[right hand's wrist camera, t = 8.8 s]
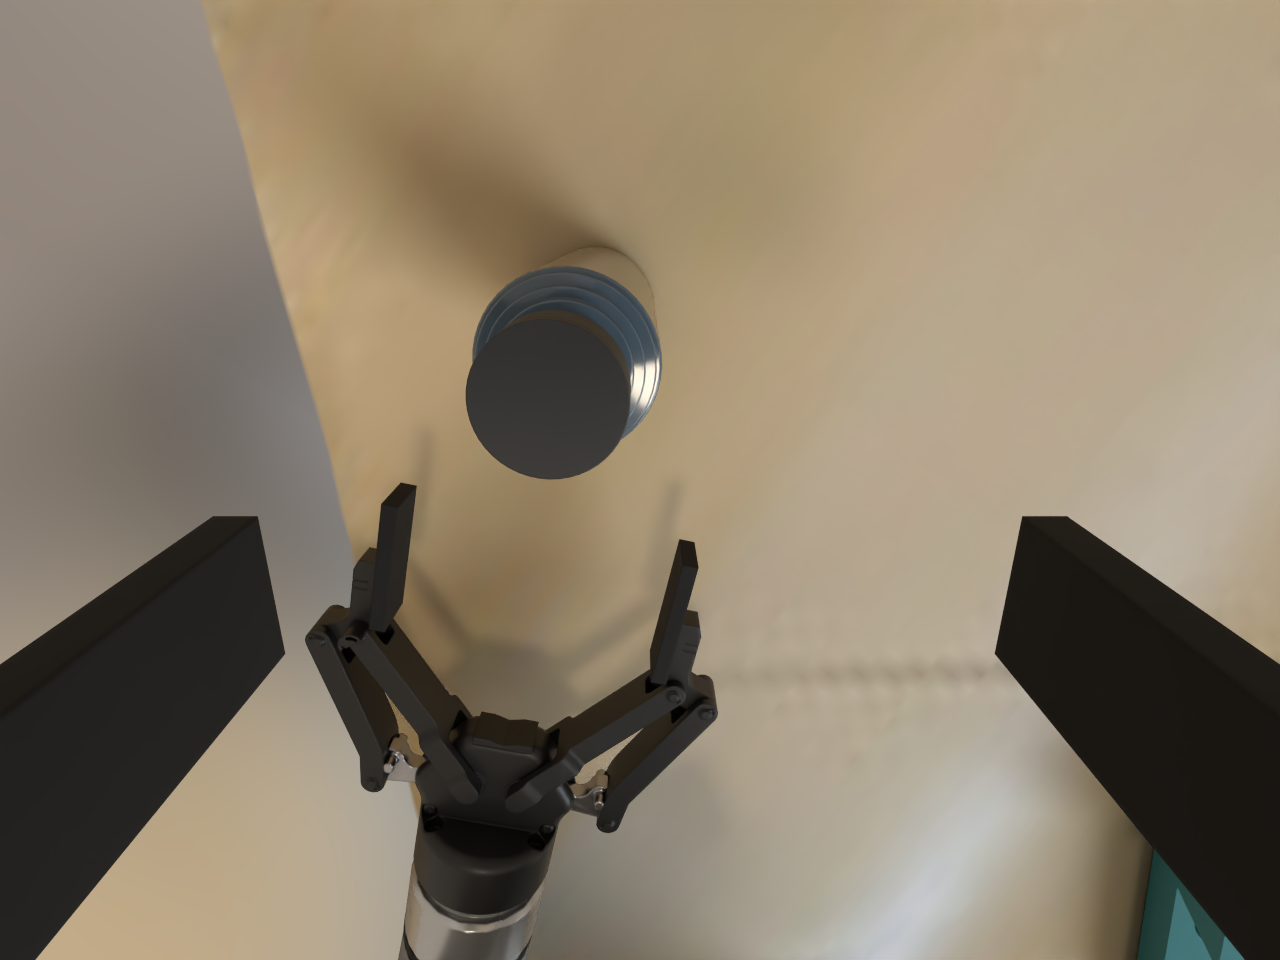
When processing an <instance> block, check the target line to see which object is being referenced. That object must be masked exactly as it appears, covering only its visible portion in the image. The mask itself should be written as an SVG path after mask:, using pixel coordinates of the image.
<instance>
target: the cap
mask: <svg viewBox="0 0 1280 960" xmlns="http://www.w3.org/2000/svg"><path fill="white" fill-rule="evenodd" d="M630 398H631V378H630V372H629V368H628V365H627V361H626V359H625V357H624V354H623V352H622V350H621V349H620V347H619V346H618V344H617V342H616V341H615V340H614V339H613V338H612V336H611V335H610V334H609V333H608V332H607V331H606V330H605V329H603V328H602V327H601V326H600V325H598V324H597V323H595V322H594V321H592V320H590V319H588V318H586V317H584V316H582V315H579V314H576V313H573V312H568V311H562V310H543V311H538V312H533V313H530V314H527V315H524V316H522V317H520V318H518V319H516V320H515V321H513V322H512V323H510V324H509V325H507V326H506V327H505V328H504V329H502V330H501V331H500V332H499V333H497V334H496V335H495V336H494V337H493V338H491V339H490V340H489V341H488V342H487V343H486V344H485V345H484V347H483V348H482V349H481V350H480V352H479V353H478V355H477V356H476V358H475V360H474V362H473V364H472V366H471V369H470V372H469V375H468V379H467V385H466V406H467V412H468V416H469V420H470V423H471V425H472V427H473V430H474V432H475V434H476V435H477V437H478V439H479V441H480V442H481V443H482V445H483V446H484V447H485V449H486V450H487V451H488V452H489V453H490V454H491V455H492V456H493V457H494V458H496V459H497V460H498V461H499V462H500V463H502V464H504V465H505V466H507V467H508V468H510V469H512V470H514V471H516V472H518V473H521V474H524V475H527V476H530V477H535V478H540V479H563V478H569V477H573V476H576V475H580V474H582V473H584V472H586V471H589V470H590V469H592V468H594V467H595V466H597V465H598V464H600V463H601V462H602V461H603V460H605V459H606V458H607V457H608V456H609V455H610V454H611V453H612V452H613V450H614V449H615V447H616V446H617V445H618V443H619V441H620V440H621V438H622V436H623V434H624V431H625V428H626V426H627V422H628V418H629V411H630Z"/></svg>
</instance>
